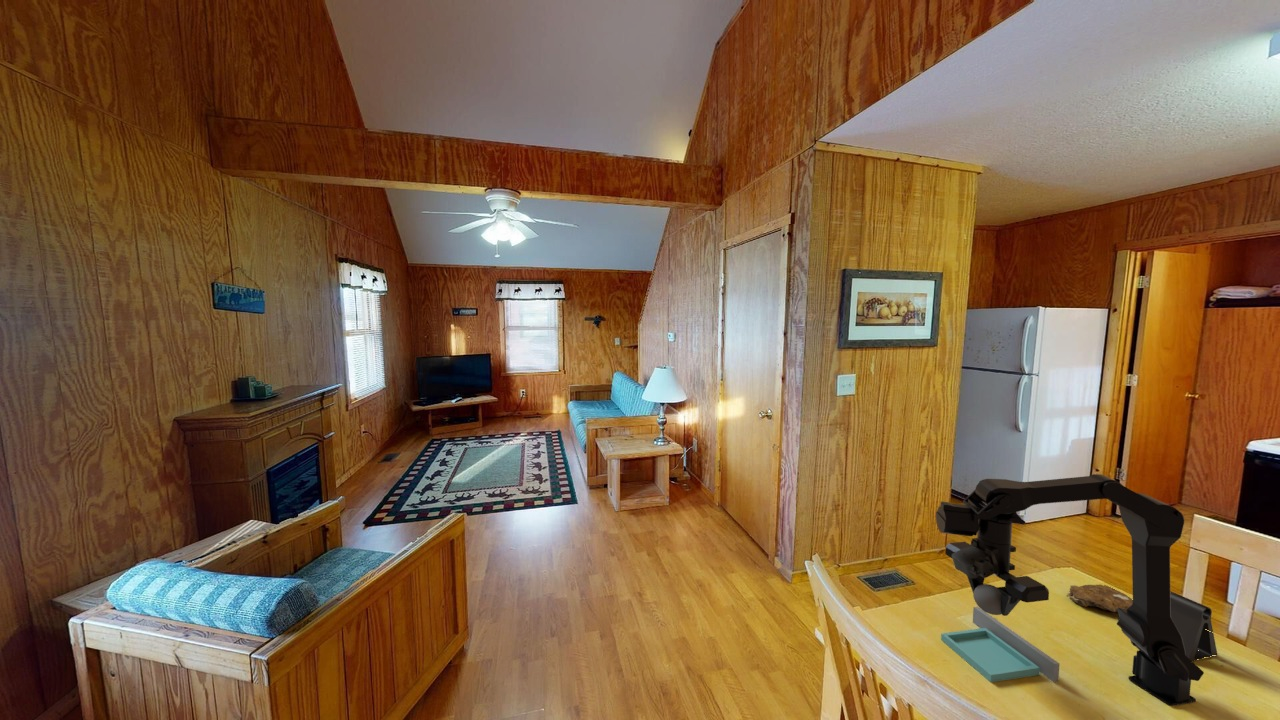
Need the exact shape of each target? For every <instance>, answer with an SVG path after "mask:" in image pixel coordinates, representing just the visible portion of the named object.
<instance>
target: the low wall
mask: <svg viewBox="0 0 1280 720" xmlns="http://www.w3.org/2000/svg"><path fill="white" fill-rule="evenodd" d="M972 623H973V624H974V625H976V626H977V627H978V628H979V629H980V628H986V629H988V630H989V631H990V632H992V633H993V634H994V635H996V636H997V637H998V638H1000V639H1001V640H1003V641H1004V642H1005V643H1007V644H1008V645H1009V646H1011V647H1012V648H1013V649H1015V650H1016V651H1018V652H1019V653H1020V654H1022V655H1023V656H1024V657H1026V658H1027V659H1028V660H1030V661H1031V662H1033V663H1034V664H1035V665H1037V666H1038V667H1039V668H1040V673H1041V675H1044V677H1046V678H1047V679H1048V680H1049V681H1051V682H1053V683H1058V682H1059V681H1060V680H1059V678H1060V665H1061V663H1060V662H1058V661H1057V660H1055V659H1054V658H1052V657H1051V656H1050V655H1049V654H1047V653H1046V652H1044V651H1043V650H1041V649H1040V648H1039V647H1037V646H1036V645H1034V644H1032V643H1031V642H1029V640H1027V639H1025V638H1024V637H1022V636H1021V635H1019V634H1018V633H1017V632H1015V631H1013V630H1012V629H1011V628H1009V627H1008V626H1007V625H1005V624H1003V623H1002V622H1000V621H999V620H998V619H996V618H995V617H993V615H991V614H989V613H987V612H985V611H983V610H982V609H981V608H980V607H979V606H973V611H972ZM1040 673H1039V674H1040Z"/></svg>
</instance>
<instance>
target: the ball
mask: <svg viewBox="0 0 1280 720" xmlns="http://www.w3.org/2000/svg"><path fill="white" fill-rule="evenodd" d="M972 595H973V600H974V602H975V604H976V606H977V607H979V608H980V609H982V610H983V611H985V612H986V613H988V614H989V615H991V616H1001V615H1002V613H1001V595H1002V594H1001V592H1000V591H999V590H998V589H997V586H995V585H993V584H988V583H983V584H981V585H979V586H977V587H976V588H975V590H974V593H973V592H972Z"/></svg>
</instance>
